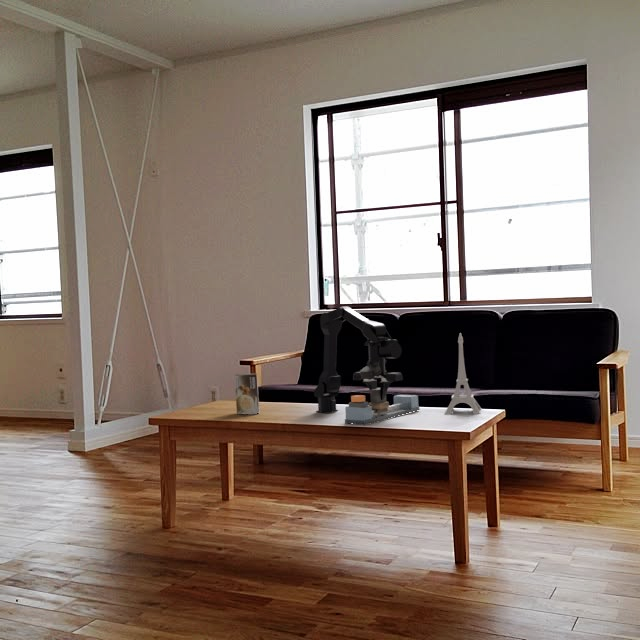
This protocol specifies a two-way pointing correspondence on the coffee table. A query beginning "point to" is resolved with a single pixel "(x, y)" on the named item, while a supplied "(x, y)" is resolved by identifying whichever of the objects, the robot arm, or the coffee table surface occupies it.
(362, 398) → the button
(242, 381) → the coffee box
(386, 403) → the carriage
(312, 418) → the coffee table surface
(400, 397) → the rail
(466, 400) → the eiffel tower
